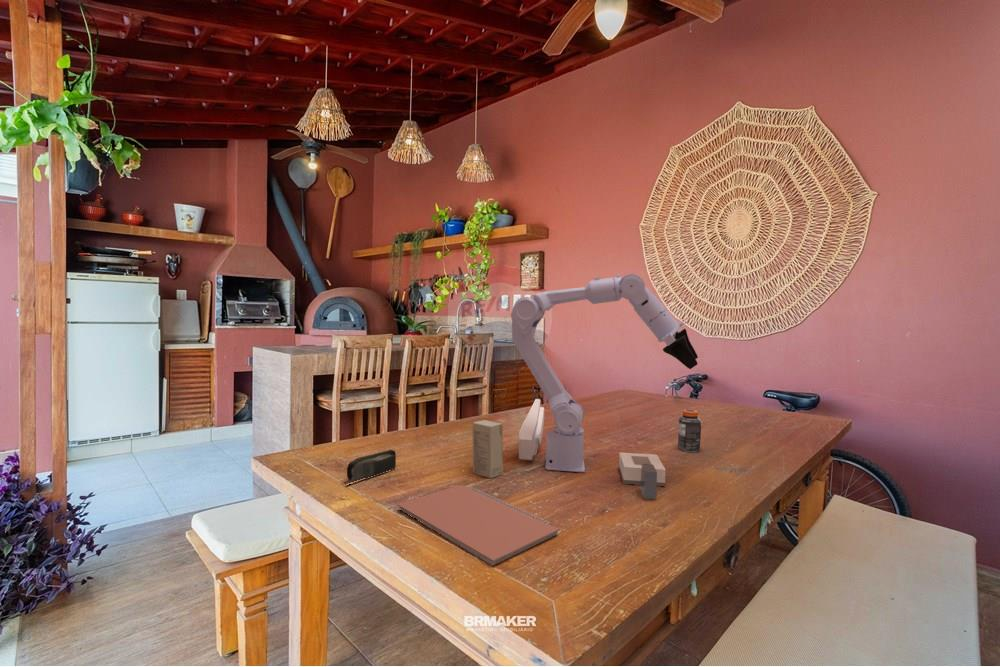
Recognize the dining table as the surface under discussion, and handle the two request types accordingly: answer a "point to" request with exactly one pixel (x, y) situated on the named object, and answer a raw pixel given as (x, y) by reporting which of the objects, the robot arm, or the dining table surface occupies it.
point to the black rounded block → (371, 465)
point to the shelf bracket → (531, 432)
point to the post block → (639, 467)
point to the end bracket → (648, 481)
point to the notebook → (479, 522)
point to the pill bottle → (689, 431)
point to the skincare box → (487, 448)
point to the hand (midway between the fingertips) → (694, 363)
